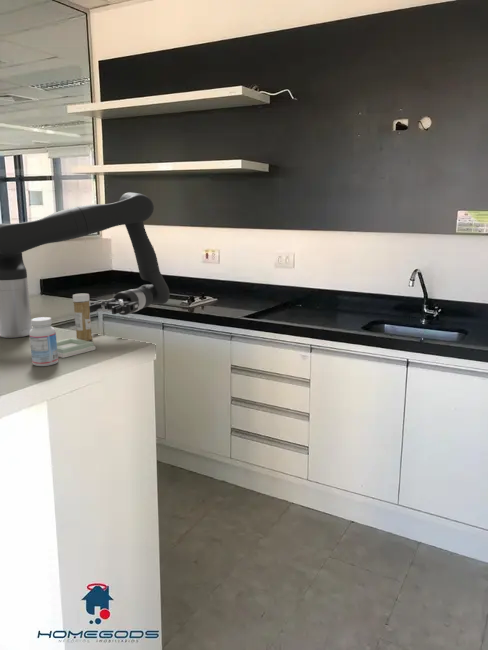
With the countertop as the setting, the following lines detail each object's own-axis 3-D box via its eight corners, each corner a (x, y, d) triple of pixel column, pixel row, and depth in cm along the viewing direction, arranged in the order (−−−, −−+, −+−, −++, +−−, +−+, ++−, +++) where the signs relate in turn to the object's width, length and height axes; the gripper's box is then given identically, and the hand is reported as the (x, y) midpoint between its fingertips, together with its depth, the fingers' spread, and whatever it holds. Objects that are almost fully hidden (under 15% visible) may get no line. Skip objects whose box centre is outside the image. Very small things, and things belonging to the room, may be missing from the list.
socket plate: (41, 351, 146) (40, 344, 146) (73, 344, 154) (73, 337, 153) (63, 357, 140) (62, 350, 139) (95, 349, 147) (95, 342, 147)
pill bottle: (49, 358, 139) (45, 315, 137) (63, 362, 135) (59, 318, 133) (27, 364, 135) (22, 319, 132) (40, 368, 131) (36, 322, 128)
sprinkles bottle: (94, 340, 158) (91, 294, 155) (78, 342, 156) (75, 295, 153) (89, 337, 162) (86, 292, 159) (74, 339, 159) (70, 293, 156)
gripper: (110, 289, 182) (80, 296, 167) (148, 291, 177) (120, 298, 162) (111, 311, 183) (81, 320, 168) (149, 313, 178) (121, 323, 164)
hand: (100, 310), depth 165 cm, fingers open, 8 cm apart
